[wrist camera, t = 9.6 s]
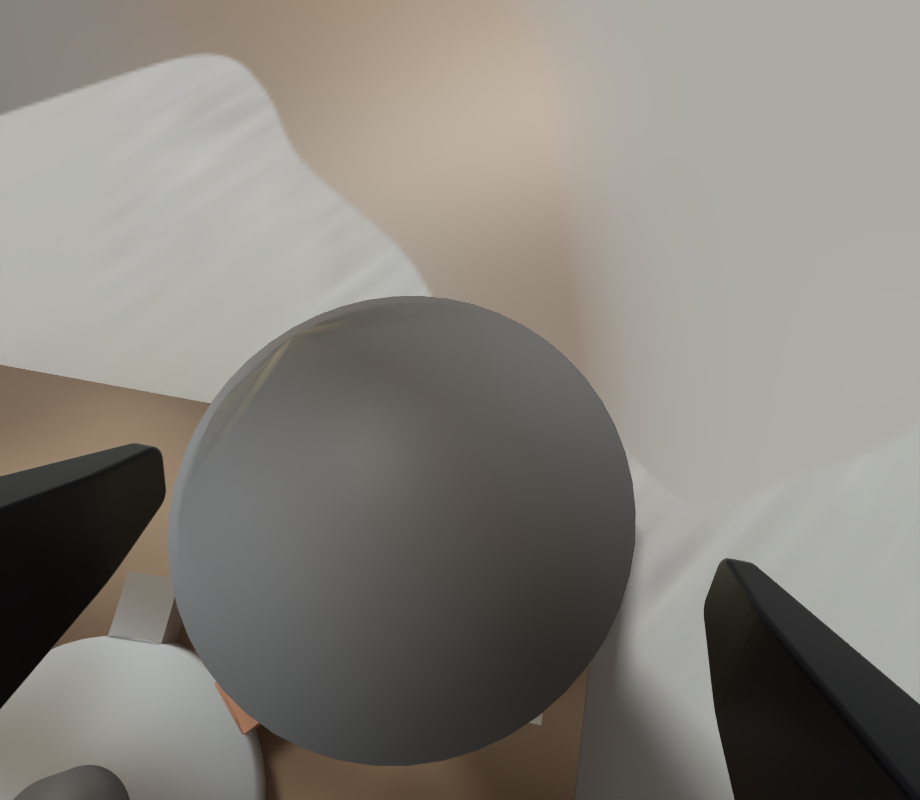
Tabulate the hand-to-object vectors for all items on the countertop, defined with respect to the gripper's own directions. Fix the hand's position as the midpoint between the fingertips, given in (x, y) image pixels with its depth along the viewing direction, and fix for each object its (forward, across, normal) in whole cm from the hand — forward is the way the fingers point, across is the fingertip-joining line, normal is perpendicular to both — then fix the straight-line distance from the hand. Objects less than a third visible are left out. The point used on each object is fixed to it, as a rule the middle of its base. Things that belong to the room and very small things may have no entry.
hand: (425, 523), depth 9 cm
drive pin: (+5, 0, +5) cm, 7 cm away
